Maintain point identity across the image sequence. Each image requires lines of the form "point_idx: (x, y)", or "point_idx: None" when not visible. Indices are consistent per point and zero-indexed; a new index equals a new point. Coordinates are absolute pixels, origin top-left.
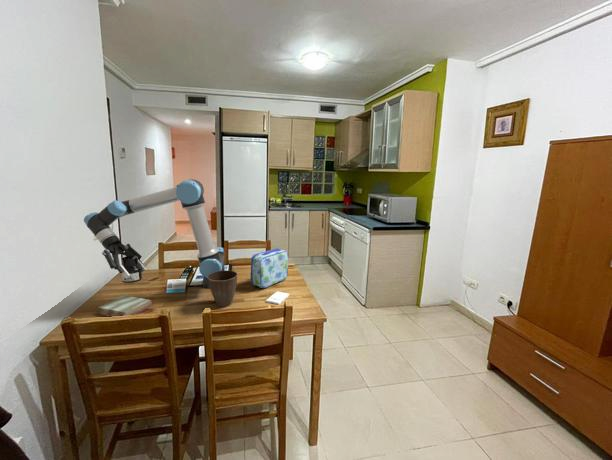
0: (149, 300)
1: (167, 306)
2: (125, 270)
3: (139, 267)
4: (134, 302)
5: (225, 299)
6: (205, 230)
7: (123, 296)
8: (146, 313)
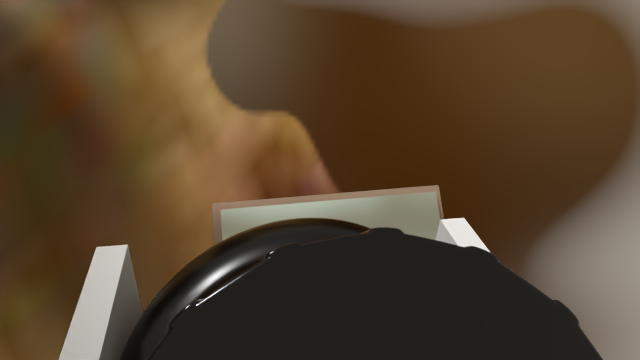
0: (222, 210)
1: (178, 99)
2: None
3: (233, 248)
4: None
5: None
6: None
7: None
8: (311, 150)
